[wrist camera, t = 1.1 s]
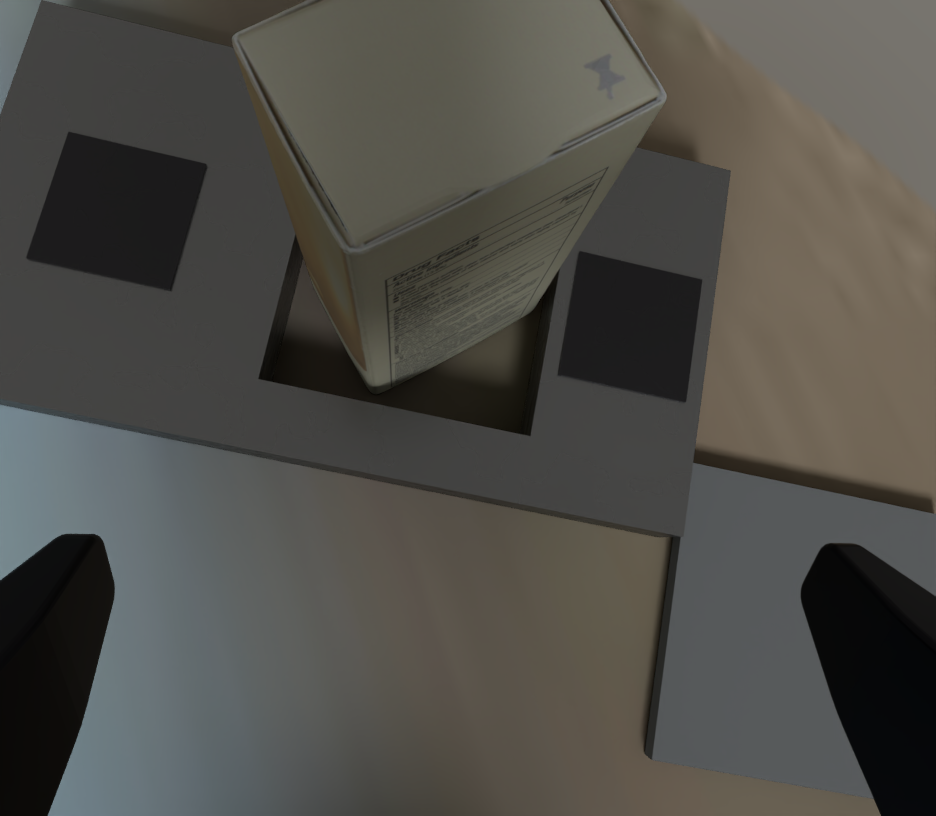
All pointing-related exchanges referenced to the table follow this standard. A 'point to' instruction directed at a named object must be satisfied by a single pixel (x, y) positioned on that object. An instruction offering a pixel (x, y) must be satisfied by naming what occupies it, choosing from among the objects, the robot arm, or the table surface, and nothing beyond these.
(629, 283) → the grey black flat block
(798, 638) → the pad
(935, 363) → the table surface
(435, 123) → the skincare box
